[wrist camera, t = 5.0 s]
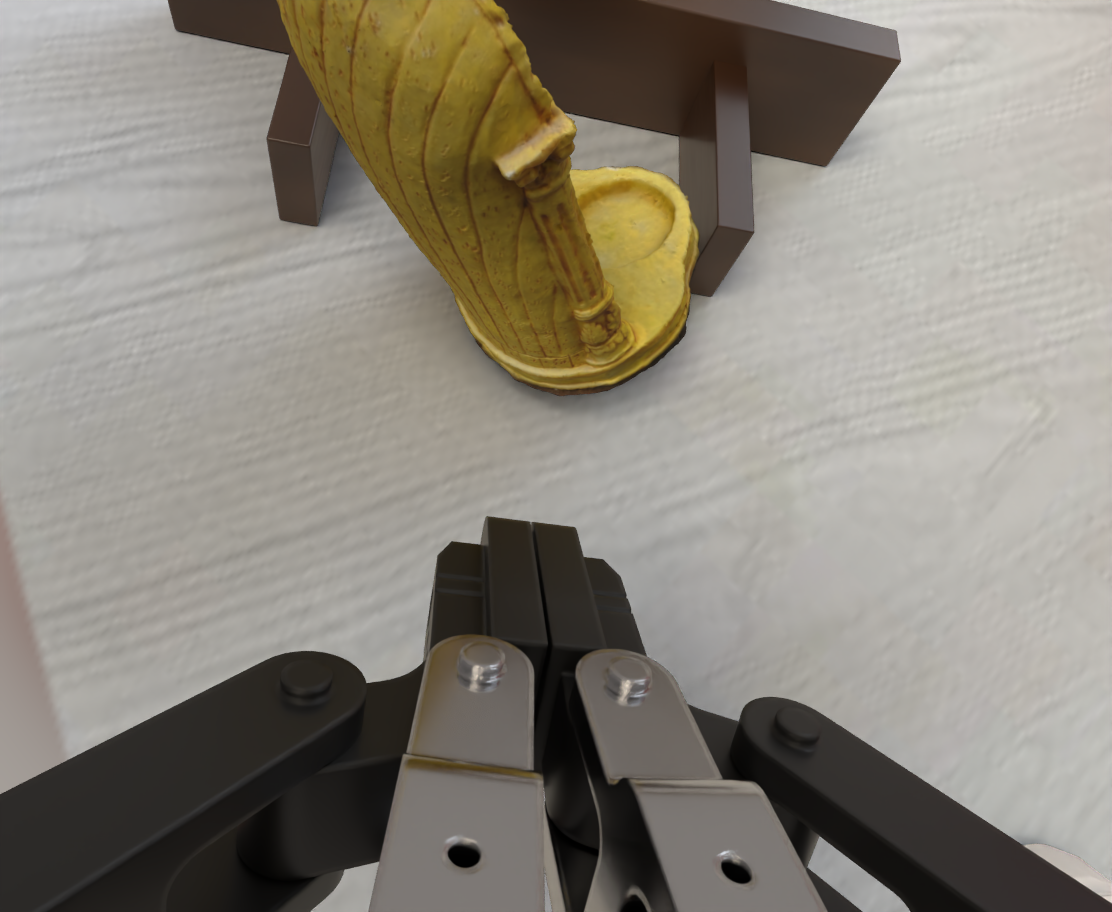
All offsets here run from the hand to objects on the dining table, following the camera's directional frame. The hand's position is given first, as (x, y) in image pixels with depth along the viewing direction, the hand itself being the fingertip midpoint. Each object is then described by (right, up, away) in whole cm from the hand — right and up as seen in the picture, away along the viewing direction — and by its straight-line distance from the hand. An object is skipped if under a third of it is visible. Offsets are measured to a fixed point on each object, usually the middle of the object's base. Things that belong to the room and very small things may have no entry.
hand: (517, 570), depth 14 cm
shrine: (-1, +6, +13) cm, 14 cm away
